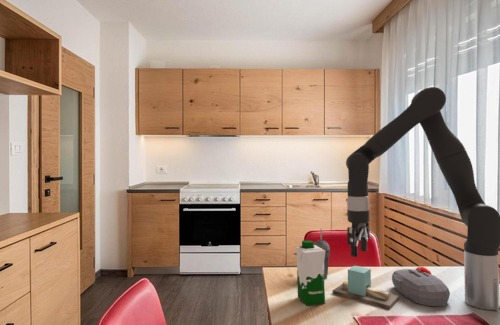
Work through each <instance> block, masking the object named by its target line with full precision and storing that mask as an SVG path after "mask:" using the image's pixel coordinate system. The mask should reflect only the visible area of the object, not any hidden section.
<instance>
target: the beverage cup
mask: <svg viewBox="0 0 500 325" xmlns="http://www.w3.org/2000/svg"><path fill="white" fill-rule="evenodd" d="M322 231H323V229H322V228H320V231H319V232H320V239H318V240H316V241H315V242H313V243H314V245H316V246H318V247H320V248H322V249H323V250H325V251H326V252H325V258H324V281H325V280H327V279H328V275H329V274H328V272H329V258H330V253H331V249H330V245H329V243H328V242H327V241H326V240H324V239H322V238H323V236H322V235H323V232H322Z"/></svg>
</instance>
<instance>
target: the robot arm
mask: <svg viewBox="0 0 500 325" xmlns="http://www.w3.org/2000/svg"><path fill="white" fill-rule="evenodd" d="M446 102H447V97H446V93H445V91H443V90H442V89H441V88H439V87H437V86H429V87H426V88H423V89H421V90H420V91H419V92H418V93H416V94H415V95H414V96H413V97H412V99H411V102H410V104H409V106H407V107H406V108H405V109H404V110H403V111H402V112H401V113H400V114H398V115H397V116H396V117H395V118H394V119H392V121H390V122H388V123H387V124H386V125H385V126H383V127H382V128H381V129H379V130H378V131H377V132H376V133H374V134H373V136H371V137H370V138H369V139H368V140H367V141H366V142H365V143H364V144H363V145H361V146H360V147H358V148H357V149H356V150H355V151H353V152H352V153H351V154H350V155H349V156H348V157H347V158H346V161H345V166H346V168H347V171H348V182H347V199H346V200H347V201H346V205H347V206H346V208H347V209H346V211H347V222H348V223H351V227H347V228H346V230H347V231H346V232H347V238H346V239H347V242H346V243H347V245H349V246H350V255H351V257H353V258H357V257H358V256H359V255H358V254H359V249H358V246H359V242H360V251H361V252H363V253H364V252H367V251H368V241H369V239H370V236H371V235H370V234H371V233H370V231H371V230H370V220H371V219H370V218H371V217H370V201H369V200H370V199H369V184H368V183H369V182H368V180H369V171H370V170H369V169H370V166H369V164H371V163H372V162H373V161H374V160H376V158H378V157H381V156H382V155H384V154H385V153H386V152H387V151H388V150H390V149H391V148H392V147H394V145H395V144H396V143H397V142H399V141H400V140H401V139H402V138H403V137H404V136H405V135H406V134H408V133H409V132H410V131H411V130H413V128H415V127H416V126H417V125H418V124H419V125H420V126H421V128H422V130H423V132H424V133H425V136H426V138H427V141H428V144H429V146H430V148H431V150H432V153H433V155H434V158H435V160H436V162H437V165H438V167H439V169H440V171H441V174H442V176H443V177H444V180H445V181H446V183H447V185H448V187H449V189H450V190H451V192H452V194H453V197H454V200H455V203H456V205H457V208H458V209H457V210H458V213H459V215H460V219H461V221H462V222H463V223H464V225H465V226H466V227H467V235H466V236H467V237H466V240H465V242H464V243H463V252H464V253H463V257H464V258H463V259H464V260H463V261H464V262H463V265H464V266H463V268H464V302H465V303H466V304H468V305H469V306H471V307H474V308H477V309H481V310H488V311H496V312H498V311H499V309H500V276H499V249H500V213H499V211H498V210H496V209H495V208H494V207H492V206H491V205H487V204H486V203H485V202H484V200H483V198H482V197H481V194H480V192H479V191H478V189H477V186H476V183H475V174H474V168H473V165H472V164H473V163H472V162H471V161H472V160H471V159H470V156H469V155H468V152H467V150H466V148H465V145H464V144H463V143H462V141H461V140H460V139H459V138H458V137H457V135H456V134H455V133H454V132H453V131H452V130H451V129H450V128H449V126H448V125H447V123H446V122H445V119H444V116H443V114H442V111H441V110H442V109H444V107H445V104H446Z"/></svg>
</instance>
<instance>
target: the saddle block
mask: <svg viewBox="0 0 500 325" xmlns="http://www.w3.org/2000/svg"><path fill="white" fill-rule="evenodd" d="M371 272H372V271H371V268H368V267H364V266H358V265H353V266H352V267H350V268H349V269H347V282H348V292H350V293H354V294H357V295H361V296H366V287H370V288H372V278H371V277H372V276H371V275H372V273H371Z"/></svg>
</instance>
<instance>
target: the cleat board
mask: <svg viewBox="0 0 500 325" xmlns="http://www.w3.org/2000/svg"><path fill="white" fill-rule="evenodd" d="M332 294H333V295H336V296H340V297H344V298H347V299H351V300H355V301H358V302H361V303H365V304H369V305H372V306H375V307H376V306H377V307H380V308H383V309H386V310H391V309H392V308H393V307H394V306H395V305H396V303H397V302H398V301H400V295H397V294H394V293H390V291H387V290H383V289H378V288H374V287H371V288H370V287H366V296H361V295H357V294H354V293H350V292H348V281H343V282H342V284H340V285H338V286H337V287H335V288H333V289H332Z"/></svg>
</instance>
